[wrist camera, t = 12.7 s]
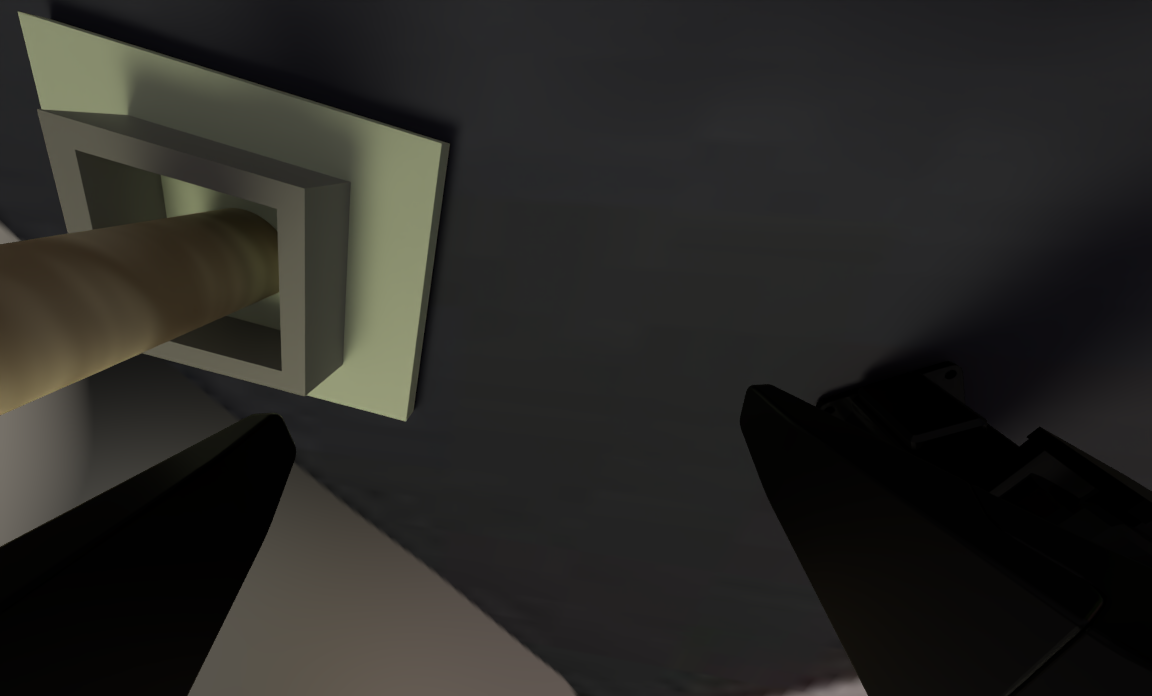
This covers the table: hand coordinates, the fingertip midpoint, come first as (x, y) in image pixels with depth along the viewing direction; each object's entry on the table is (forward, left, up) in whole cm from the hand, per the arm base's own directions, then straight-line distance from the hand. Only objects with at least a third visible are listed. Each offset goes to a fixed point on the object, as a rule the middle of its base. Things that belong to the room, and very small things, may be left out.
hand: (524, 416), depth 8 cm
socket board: (+6, +13, -12) cm, 19 cm away
